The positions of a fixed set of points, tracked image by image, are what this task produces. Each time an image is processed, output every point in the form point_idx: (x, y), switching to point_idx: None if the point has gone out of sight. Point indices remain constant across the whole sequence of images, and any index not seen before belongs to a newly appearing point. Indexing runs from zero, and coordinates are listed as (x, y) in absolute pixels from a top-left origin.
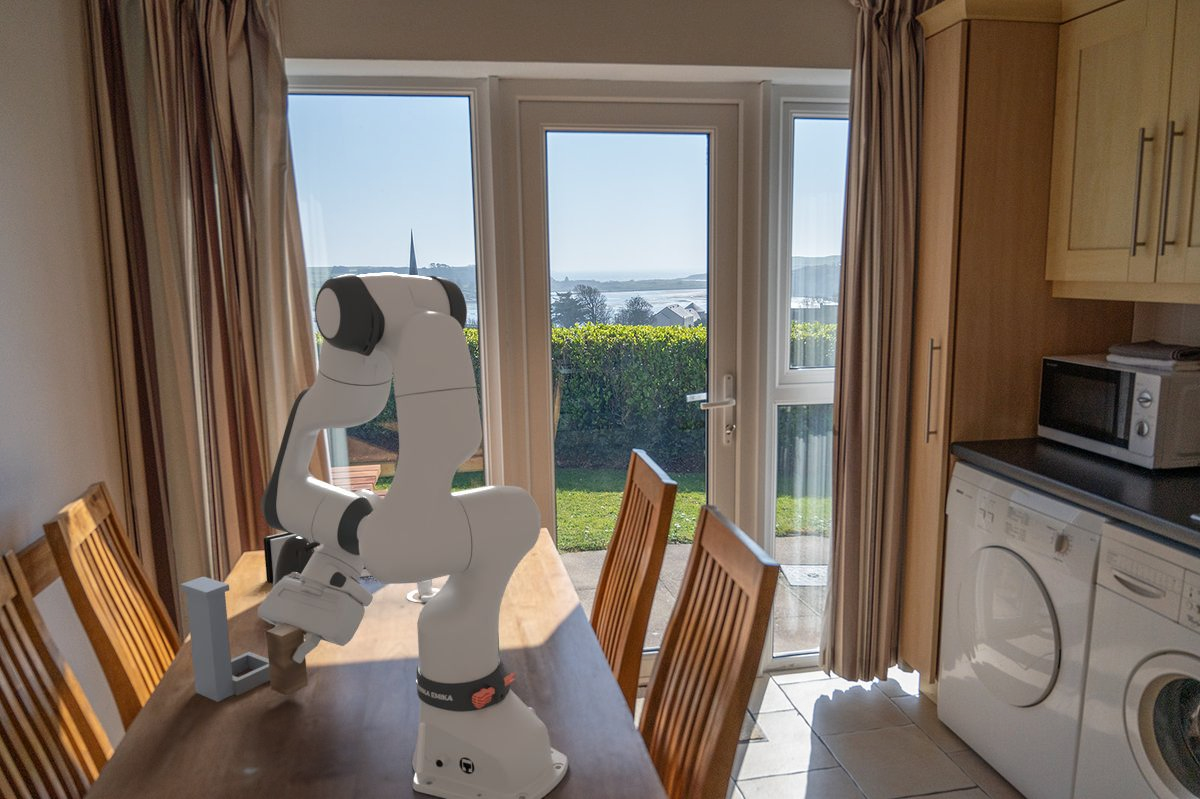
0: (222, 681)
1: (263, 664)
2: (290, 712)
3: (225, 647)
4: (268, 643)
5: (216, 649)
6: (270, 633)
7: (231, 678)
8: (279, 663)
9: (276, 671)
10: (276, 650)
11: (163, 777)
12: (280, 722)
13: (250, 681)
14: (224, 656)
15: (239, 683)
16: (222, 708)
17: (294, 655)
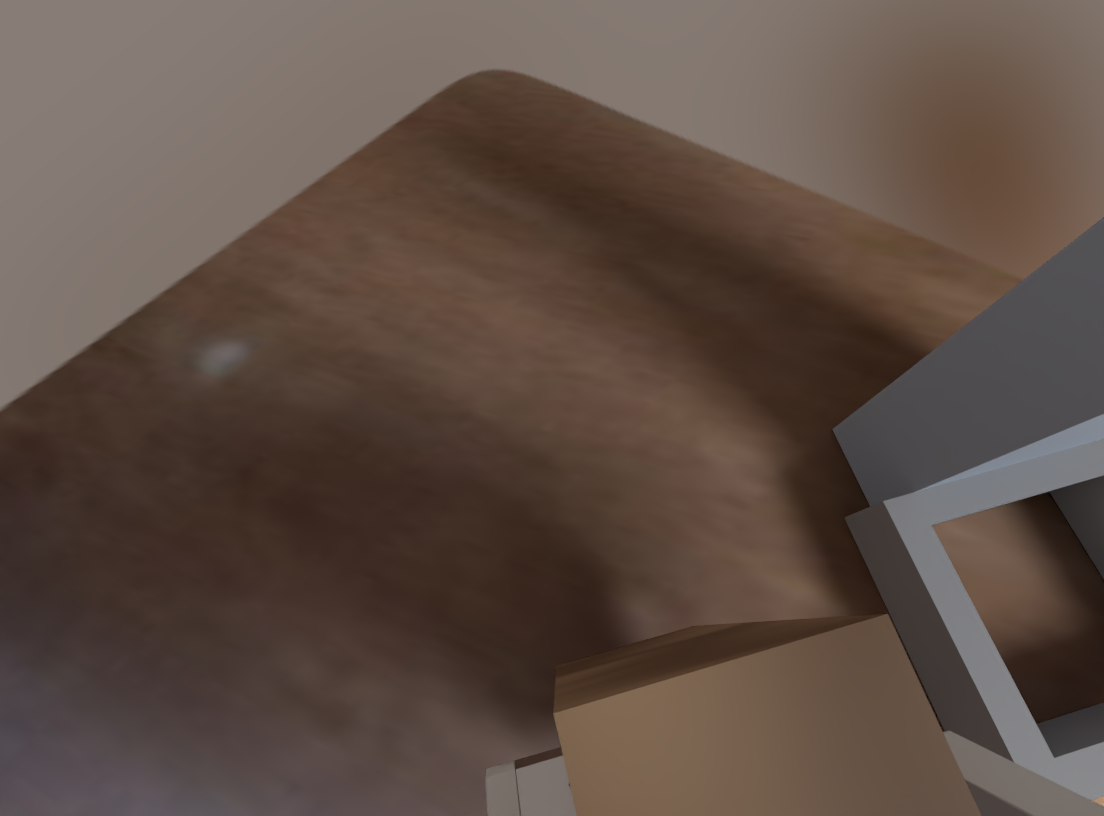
0: (895, 430)
1: (1089, 733)
2: (507, 653)
3: (1064, 384)
4: (790, 624)
5: (1033, 312)
6: (790, 639)
7: (916, 482)
8: (615, 661)
9: (652, 646)
10: (660, 659)
11: (413, 168)
12: (453, 575)
13: (904, 590)
14: (1005, 398)
15: (880, 520)
16: (757, 427)
17: (510, 789)
